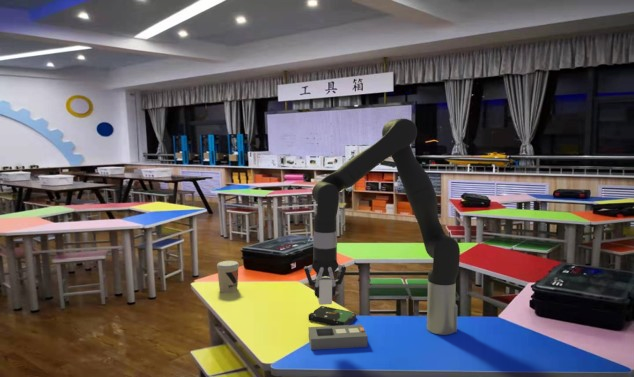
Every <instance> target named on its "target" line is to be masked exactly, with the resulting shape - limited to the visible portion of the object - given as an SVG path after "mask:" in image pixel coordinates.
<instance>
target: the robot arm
mask: <svg viewBox="0 0 634 377" xmlns="http://www.w3.org/2000/svg"><path fill="white" fill-rule="evenodd" d="M381 130H382V131H381V135H382V136H381V138H379V140H377V141H376V142H375V143H373V144H372V145H370V146H369V147H367V148H365V149H364V150H362V151H361V152H359V153H357V154H356V155H354V156H353V157H352V158H350V159H349V160H347V161H346V162H345V163H344V164H342V165H341V166H340V167H338V169H337V170H335V171H333V172H332V173H330V174H328V175H327V176H326V177H324V178H321V180H319V181H318V182H317V183H315V185H314V186H313V187H312V191H311V194H312V198H313V200H314V201H315V202H316V203H317V207H316V209H317V210H316V213H315V215H314V218H313V237H312V242H313V243H312V244H313V247H312V250H313V251H312V252H313V253H312V255H313V257H312V262H311V264H310V265H308V266H307V265H305V266H303V269H304V272H305V276H306V278H307V281H308V284H309V286H313V288H314V296H315V297H316V299H318V298H319V280H321V277H324V276H327V277H330V279H331V280H332V299H333V298H334V297H335V296H336V286H339V285H341V284H342V282H343V280H344V279H343V278H344V277H345V273H346V270H347V267H346V265H345V264H339V263H338V236H337V214H338V210H339V205H340V204H339V203H340V192H341V191H343V190H345V189H350V188H352V187H353V186H354V185H355V184H356V183H358V182H359V181H360V180H361V179H363V178H364V177H365V176H366V175H367V174H369V173H370V172H371V171H372V170H373V169H375V168H376V167H377V166H379V165H380V164H382V162H385V161H386V160H387V159H388V158H390V157H391V158H392V160H393V162H394V165H395V167H396V168H395V169H396V170H397V173H398V174H397V175H399V178H400V179H399V180H400V181H401V184H402V186H403V191H404V192H405V195H406V197H407V200H408V203H409V205H410V208H411V210H412V213H413V215H414V218H415V220H416V221H417V224H418V227H419V230H420V234H421V237H422V238H421V239H422V241H423V245H424V248H425V252H426V253H427V254H428V256H429V257H430V258H432V259H433V260H432V262H433V263H432V269H431V270H430V271H428V274H427V304H426V305H427V306H426V308H427V309H426V310H427V311H426V313H427V314H426V329H427V330H428V332H430V333H432V334H435V335H442V336H443V335H444V336H447V335H451V334H453V333H457V332H458V331H457V330H458V304H457V303H456V290H457V289H456V286H457V285H456V282H457V281H456V280H457V277H458V275H459V270H460V259H461V258H460V257H461V249H460V246H459V243H458V241H457V240H455V239H454V238H453V237H452V236H448V235H447V234H446V233H445V231H444V229H443V227H442V223H441V222H440V219H439V214H438V197H437V193H436V190H435V187H434V185H433V183H432V182H433V181H432V180H431V178H430V176H429V175H428V173H427V172H426V171H425V169H424V167H423V166H422V165H421V163H420V162H419V161H418V159H417V158H416V156H415V154H414V152H413V149H412V147H411V145H412V144H413V143H414V142H415V140H416V139H417V136H418V128H417V125H416V124H415V122H413V121H412V120H411V119H408V118H396V119H392V120H388V121H387V122H386V123H385V124H384V126H383V127H382V129H381ZM312 270H313V271H314V272H315V280H313V278H312V276H311V273H312ZM336 271H338V275H337V278H336V279H335V277H334V273H335V272H336Z"/></svg>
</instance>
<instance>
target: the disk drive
mask: <svg viewBox="0 0 634 377" xmlns="http://www.w3.org/2000/svg"><path fill="white" fill-rule="evenodd" d="M356 319H357V314H356V312H354V311H349V310H345V309H340V308H334V307H330V306H324V305H319V307H318V308H316V309H314V311H313V312H310V313H309V314H308V321H309V320H311V322H313V321H315V323H318V322H319V323H318V324H325V325H327V326H341V325H351V323H352V322H354V320H356Z"/></svg>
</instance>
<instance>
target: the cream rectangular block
mask: <svg viewBox="0 0 634 377" xmlns="http://www.w3.org/2000/svg"><path fill="white" fill-rule="evenodd" d="M317 301H318V304H319V306H324V305H332V304H333V298H332V280H331V279H330V277H327V276H324V277H321V280H319V298H317Z"/></svg>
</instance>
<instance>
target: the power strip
mask: <svg viewBox="0 0 634 377" xmlns="http://www.w3.org/2000/svg"><path fill="white" fill-rule="evenodd" d="M308 341H309V345H310V351H312V350H313V351H314V350H315V351H316V350H329V349H330V350H331V349H332V350H333V349H348V348H349V349H352V348H367V347H368V335H367V332H366V330H365V329H364V326H363V325H362V324H349V325H341V326H332V325H327V326H326V325H325V326H311V327H310V326H309V327H308Z"/></svg>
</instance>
